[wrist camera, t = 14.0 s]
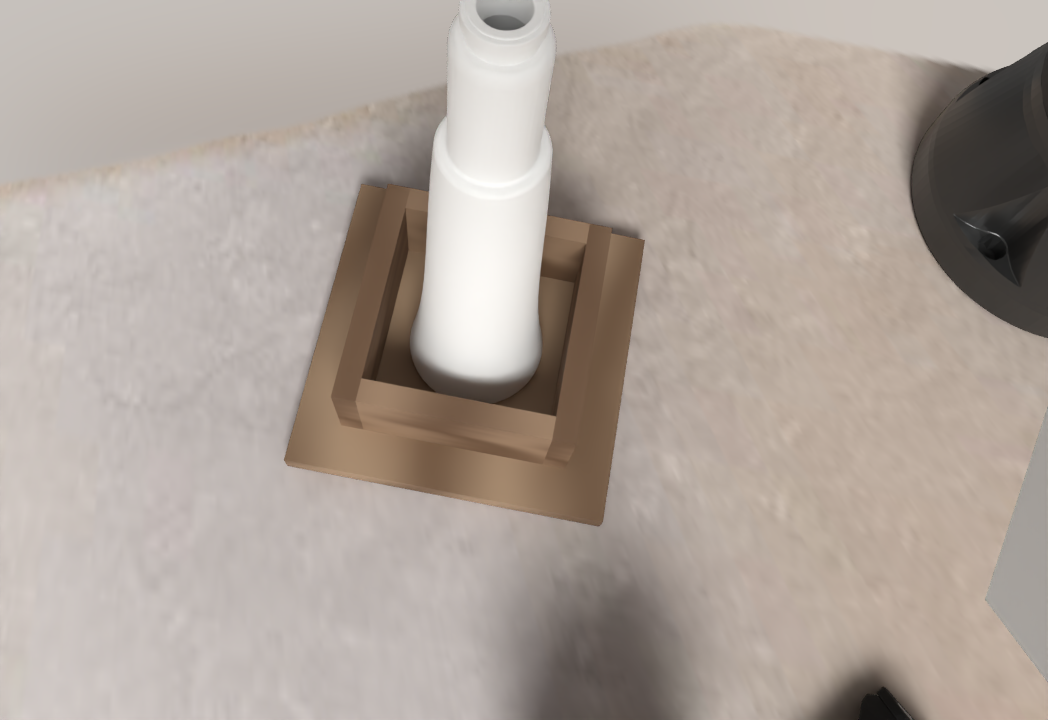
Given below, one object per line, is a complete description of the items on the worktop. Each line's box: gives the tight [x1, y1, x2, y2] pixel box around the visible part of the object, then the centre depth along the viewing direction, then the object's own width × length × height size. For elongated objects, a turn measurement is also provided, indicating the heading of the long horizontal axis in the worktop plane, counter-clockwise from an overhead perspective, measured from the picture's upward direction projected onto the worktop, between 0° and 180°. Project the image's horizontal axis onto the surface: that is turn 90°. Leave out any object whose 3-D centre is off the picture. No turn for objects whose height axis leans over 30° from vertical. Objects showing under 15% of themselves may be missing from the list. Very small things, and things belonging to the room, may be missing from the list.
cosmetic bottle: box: [410, 0, 556, 404], centre depth 33 cm, size 6×6×22 cm
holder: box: [284, 184, 645, 526], centre depth 42 cm, size 14×14×5 cm
